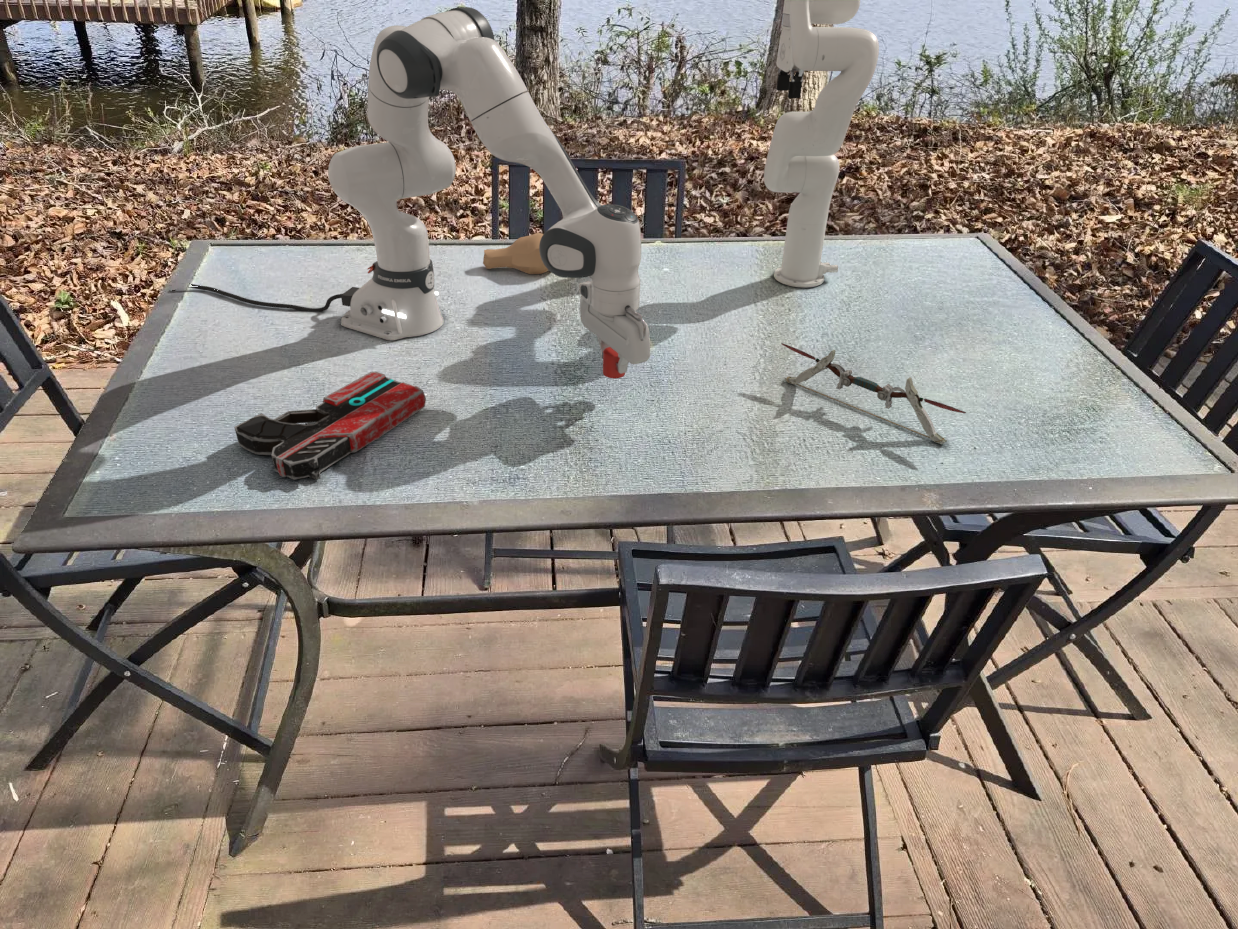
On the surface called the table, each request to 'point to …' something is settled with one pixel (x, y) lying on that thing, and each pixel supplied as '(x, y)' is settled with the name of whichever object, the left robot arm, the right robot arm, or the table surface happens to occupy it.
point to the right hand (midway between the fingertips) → (788, 93)
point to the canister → (610, 363)
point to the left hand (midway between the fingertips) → (613, 365)
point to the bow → (883, 393)
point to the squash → (518, 256)
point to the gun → (331, 425)
